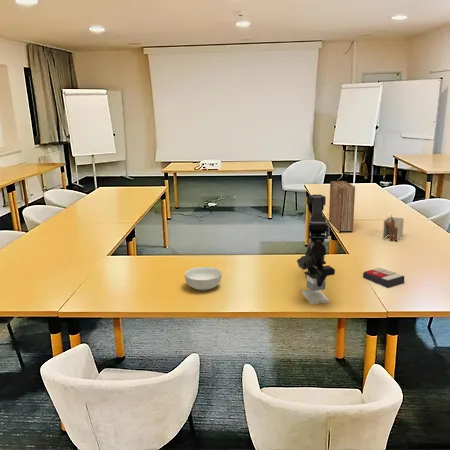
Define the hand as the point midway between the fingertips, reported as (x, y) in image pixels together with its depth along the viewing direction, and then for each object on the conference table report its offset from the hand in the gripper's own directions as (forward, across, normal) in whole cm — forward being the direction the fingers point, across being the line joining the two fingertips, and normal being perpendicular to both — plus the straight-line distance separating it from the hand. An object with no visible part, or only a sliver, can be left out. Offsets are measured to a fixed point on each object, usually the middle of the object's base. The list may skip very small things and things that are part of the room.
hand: (316, 284), depth 189 cm
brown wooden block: (+7, -92, +73) cm, 118 cm away
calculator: (+7, -5, +39) cm, 40 cm away
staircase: (+7, -57, +87) cm, 104 cm away
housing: (+2, 0, 0) cm, 2 cm away
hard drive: (+7, 0, 0) cm, 7 cm away
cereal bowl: (+6, -30, -41) cm, 51 cm away
